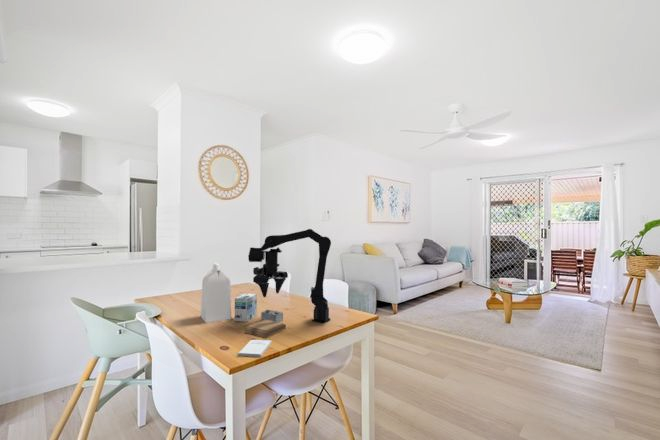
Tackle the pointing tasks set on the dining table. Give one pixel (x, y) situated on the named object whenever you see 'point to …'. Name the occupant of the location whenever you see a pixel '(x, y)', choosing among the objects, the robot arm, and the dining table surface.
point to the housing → (272, 315)
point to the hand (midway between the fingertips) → (271, 295)
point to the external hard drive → (255, 348)
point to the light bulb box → (245, 307)
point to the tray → (265, 328)
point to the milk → (216, 296)
